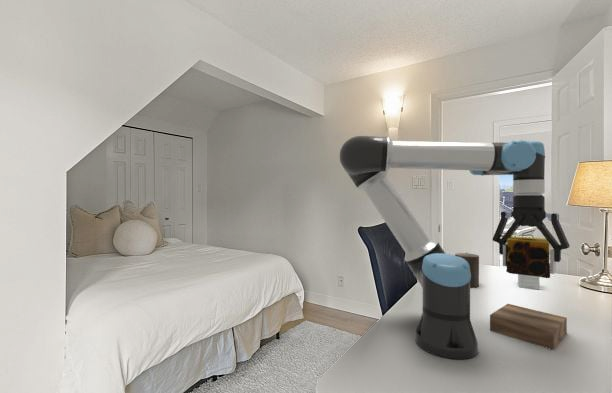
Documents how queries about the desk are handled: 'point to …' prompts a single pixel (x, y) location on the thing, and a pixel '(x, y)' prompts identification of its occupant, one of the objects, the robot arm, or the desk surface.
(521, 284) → the supplement box
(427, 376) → the desk surface
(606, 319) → the desk surface
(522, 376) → the desk surface
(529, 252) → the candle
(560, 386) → the desk surface
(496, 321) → the walnut block
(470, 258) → the pillar candle
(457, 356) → the robot arm
